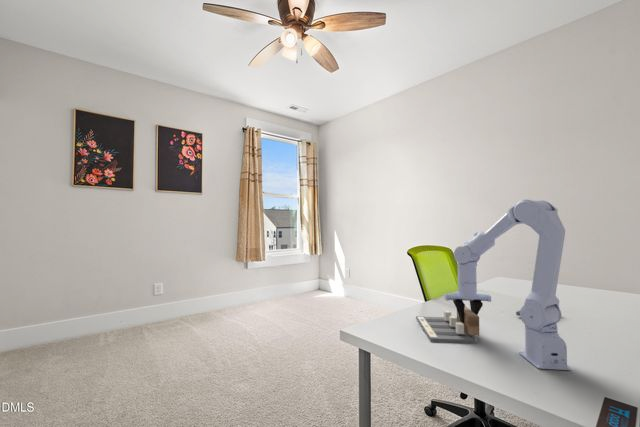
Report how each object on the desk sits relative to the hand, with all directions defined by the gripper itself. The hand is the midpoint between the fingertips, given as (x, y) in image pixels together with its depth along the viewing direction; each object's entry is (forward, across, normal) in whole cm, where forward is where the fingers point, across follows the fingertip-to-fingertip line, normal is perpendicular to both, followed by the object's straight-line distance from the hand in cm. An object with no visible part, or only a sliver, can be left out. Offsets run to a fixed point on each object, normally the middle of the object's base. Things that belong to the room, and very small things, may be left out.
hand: (467, 322), depth 101 cm
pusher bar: (+2, 0, 0) cm, 2 cm away
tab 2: (+3, +4, -3) cm, 6 cm away
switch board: (+4, +7, -3) cm, 9 cm away
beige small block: (+3, +4, +3) cm, 6 cm away
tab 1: (+3, +4, -10) cm, 11 cm away
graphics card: (+5, -34, -23) cm, 41 cm away
